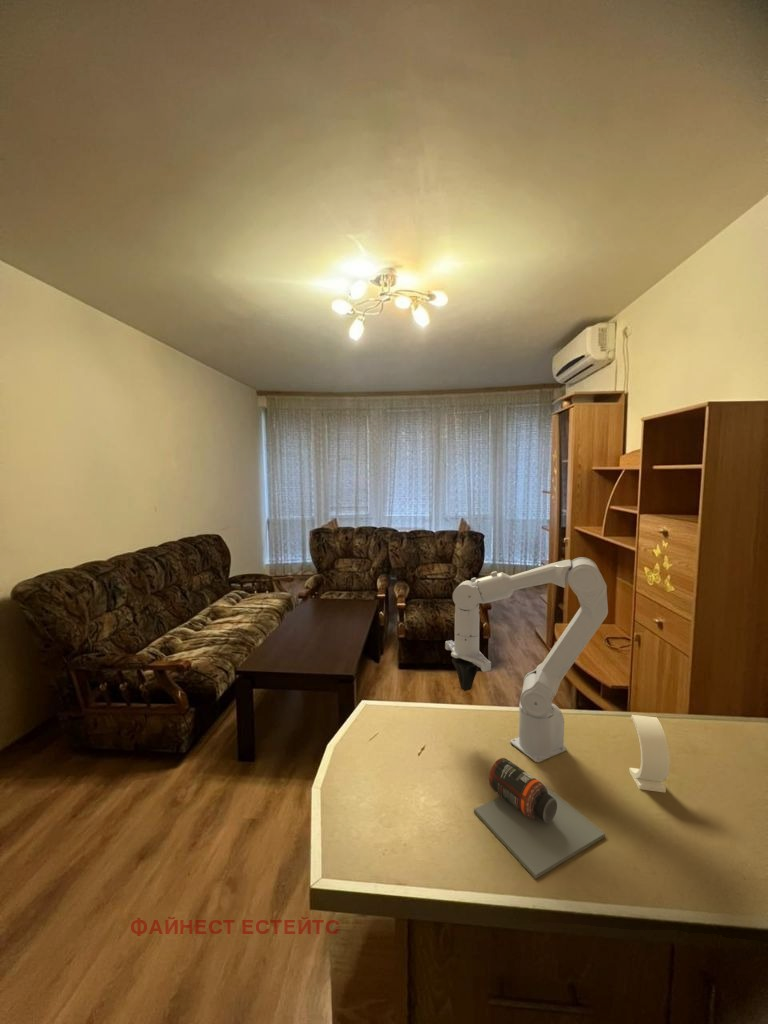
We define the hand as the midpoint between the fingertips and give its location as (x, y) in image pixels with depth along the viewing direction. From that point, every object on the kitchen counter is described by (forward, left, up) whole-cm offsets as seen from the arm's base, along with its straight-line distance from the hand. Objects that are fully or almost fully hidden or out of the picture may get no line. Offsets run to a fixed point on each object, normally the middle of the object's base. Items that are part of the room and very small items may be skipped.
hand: (466, 688), depth 96 cm
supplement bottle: (+6, +18, -7) cm, 20 cm away
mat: (+6, +27, -10) cm, 30 cm away
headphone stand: (-21, +30, -11) cm, 38 cm away
